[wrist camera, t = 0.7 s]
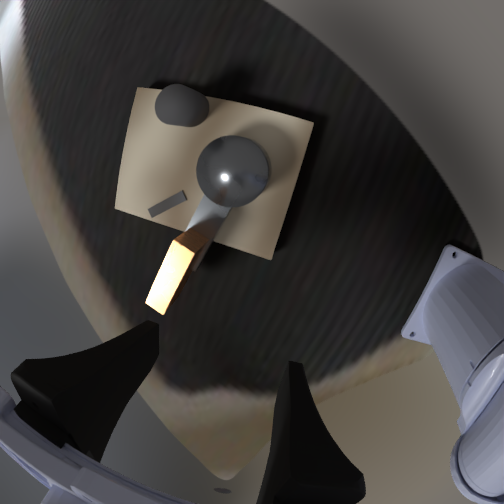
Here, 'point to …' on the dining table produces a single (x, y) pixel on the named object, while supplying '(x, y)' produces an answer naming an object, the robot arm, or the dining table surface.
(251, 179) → the crank
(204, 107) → the post
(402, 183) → the dining table surface
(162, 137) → the board
